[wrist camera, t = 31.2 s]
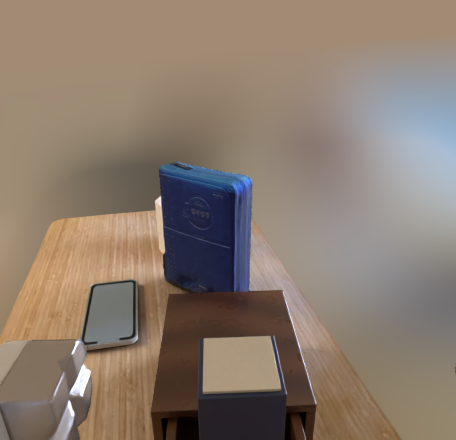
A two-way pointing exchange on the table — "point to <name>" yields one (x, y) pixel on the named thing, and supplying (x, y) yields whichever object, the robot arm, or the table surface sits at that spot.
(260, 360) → the box
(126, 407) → the table surface
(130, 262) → the table surface
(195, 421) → the drawer
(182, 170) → the book
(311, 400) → the cabinet
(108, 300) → the smartphone
